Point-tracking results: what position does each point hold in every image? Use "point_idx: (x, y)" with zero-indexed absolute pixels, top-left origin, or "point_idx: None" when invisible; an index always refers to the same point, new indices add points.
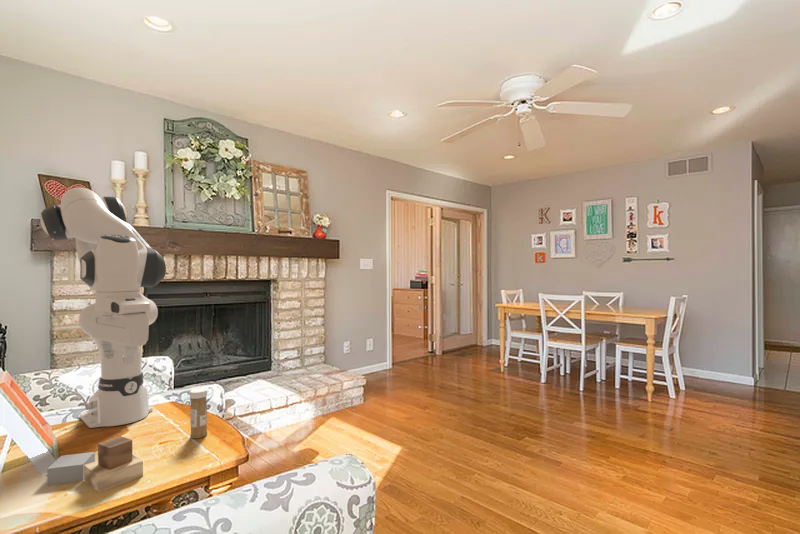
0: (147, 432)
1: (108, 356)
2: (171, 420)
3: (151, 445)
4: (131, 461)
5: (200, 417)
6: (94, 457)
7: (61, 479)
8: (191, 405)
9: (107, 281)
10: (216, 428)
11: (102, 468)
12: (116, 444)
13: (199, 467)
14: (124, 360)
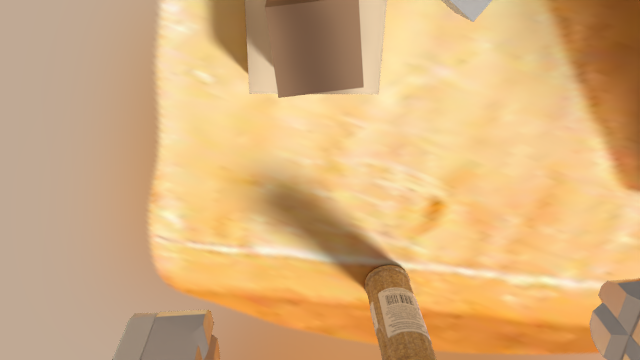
0: (552, 212)
1: (618, 311)
2: (567, 285)
3: (446, 181)
4: None
5: (376, 323)
6: (464, 16)
7: None
8: (412, 341)
9: None
10: None
11: None
12: (282, 41)
13: (179, 195)
14: (151, 338)
